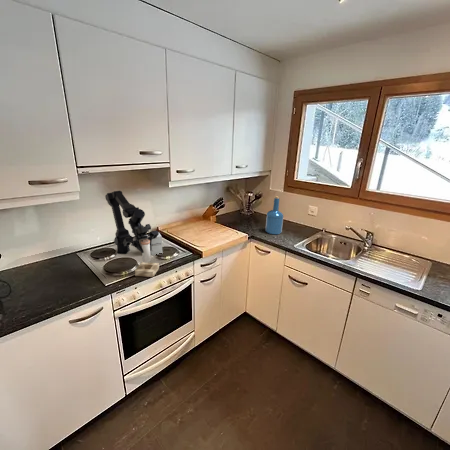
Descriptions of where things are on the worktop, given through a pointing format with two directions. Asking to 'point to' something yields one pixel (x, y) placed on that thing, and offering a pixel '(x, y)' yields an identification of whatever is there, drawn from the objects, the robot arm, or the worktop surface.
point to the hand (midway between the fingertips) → (147, 251)
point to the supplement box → (156, 245)
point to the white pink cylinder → (146, 250)
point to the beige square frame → (147, 269)
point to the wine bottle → (274, 219)
